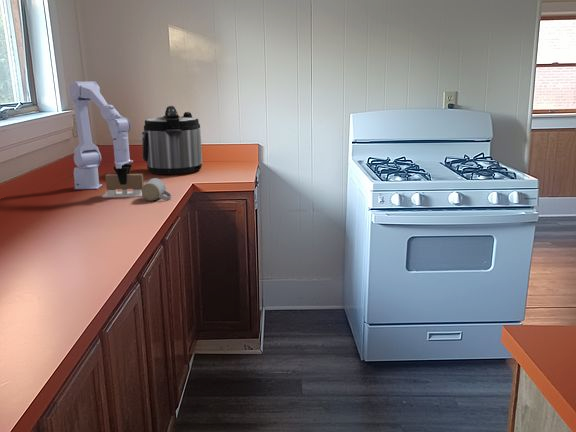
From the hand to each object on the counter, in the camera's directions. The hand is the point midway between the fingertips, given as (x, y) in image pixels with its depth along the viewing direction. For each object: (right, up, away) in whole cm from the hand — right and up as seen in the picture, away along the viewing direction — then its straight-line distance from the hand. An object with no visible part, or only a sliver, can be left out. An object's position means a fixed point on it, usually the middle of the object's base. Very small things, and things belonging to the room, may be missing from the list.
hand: (124, 183), depth 216 cm
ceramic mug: (+15, -7, -6) cm, 17 cm away
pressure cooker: (+8, +9, +53) cm, 55 cm away
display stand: (0, -5, +1) cm, 5 cm away
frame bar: (0, -2, 0) cm, 2 cm away
